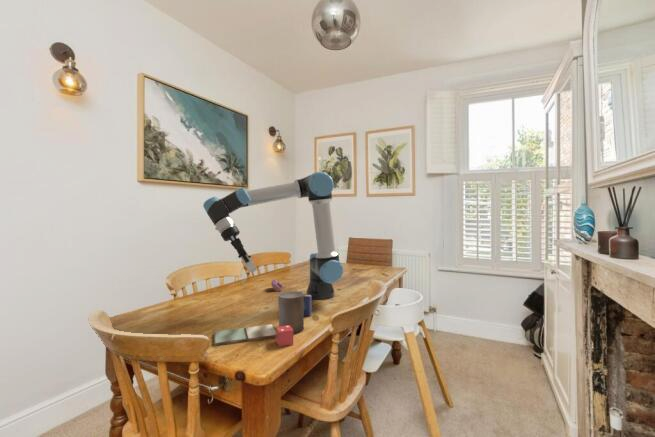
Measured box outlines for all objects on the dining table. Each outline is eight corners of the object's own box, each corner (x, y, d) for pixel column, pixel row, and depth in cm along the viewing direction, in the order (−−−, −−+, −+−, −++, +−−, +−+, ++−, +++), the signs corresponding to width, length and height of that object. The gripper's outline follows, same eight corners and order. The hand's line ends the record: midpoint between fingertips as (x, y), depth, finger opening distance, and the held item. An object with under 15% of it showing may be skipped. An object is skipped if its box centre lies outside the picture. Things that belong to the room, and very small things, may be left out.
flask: (312, 314, 134) (312, 290, 133) (310, 317, 131) (310, 292, 131) (292, 313, 136) (292, 289, 136) (290, 315, 133) (290, 291, 133)
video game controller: (276, 290, 181) (270, 279, 180) (283, 286, 181) (277, 276, 181) (274, 294, 171) (269, 283, 171) (282, 290, 171) (276, 280, 171)
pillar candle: (308, 326, 120) (308, 289, 120) (295, 336, 111) (295, 295, 111) (287, 323, 124) (287, 286, 124) (273, 331, 115) (273, 292, 115)
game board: (273, 325, 121) (273, 323, 121) (278, 336, 110) (278, 334, 110) (214, 333, 113) (214, 331, 113) (214, 346, 103) (214, 343, 103)
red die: (289, 338, 109) (289, 324, 109) (293, 344, 104) (293, 329, 104) (276, 340, 107) (276, 326, 107) (278, 346, 102) (278, 331, 102)
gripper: (225, 238, 144) (248, 276, 142) (214, 228, 120) (242, 273, 118) (239, 230, 146) (262, 267, 144) (231, 218, 122) (259, 263, 120)
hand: (253, 270), depth 131 cm, fingers open, 13 cm apart
